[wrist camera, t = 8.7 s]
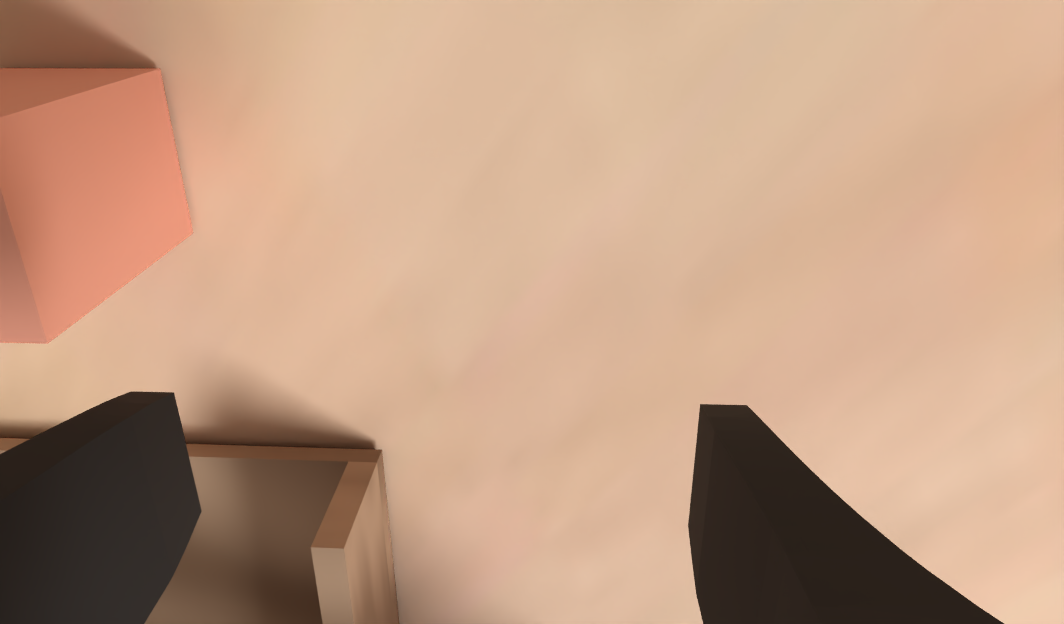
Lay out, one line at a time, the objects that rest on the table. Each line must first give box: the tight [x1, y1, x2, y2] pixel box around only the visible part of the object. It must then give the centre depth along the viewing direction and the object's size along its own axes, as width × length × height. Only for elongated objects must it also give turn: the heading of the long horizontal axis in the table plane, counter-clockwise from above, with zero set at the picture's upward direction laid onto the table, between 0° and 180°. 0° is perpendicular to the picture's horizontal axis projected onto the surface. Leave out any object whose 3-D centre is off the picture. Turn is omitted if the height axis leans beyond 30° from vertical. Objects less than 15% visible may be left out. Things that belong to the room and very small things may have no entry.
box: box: [0, 438, 399, 624], centre depth 23 cm, size 9×13×4 cm
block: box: [0, 68, 193, 344], centre depth 16 cm, size 4×4×6 cm
